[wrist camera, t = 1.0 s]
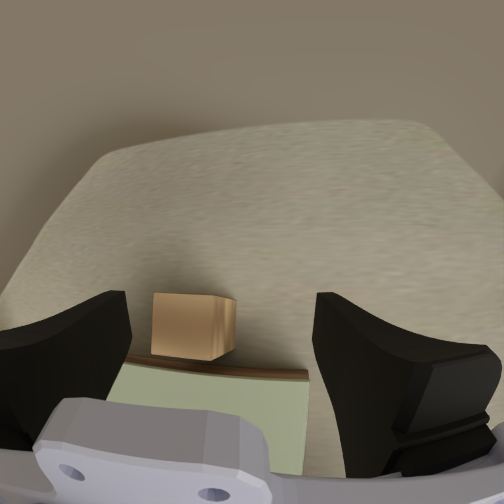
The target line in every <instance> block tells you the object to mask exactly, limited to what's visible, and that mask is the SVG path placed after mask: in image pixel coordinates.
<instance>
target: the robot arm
mask: <svg viewBox="0 0 504 504" xmlns="http://www.w3.org/2000/svg"><path fill="white" fill-rule="evenodd" d="M131 340H132V332H131V326H130V320H129V315H128V309H127V302H126V296H125V291H114V290H110V291H107V292H104V293H101V294H99V295H97V296H95V297H92V298H90V299H88V300H86V301H84V302H82V303H80V304H78V305H76V306H74V307H72V308H70V309H67V310H65V311H63V312H61V313H59V314H56V315H54V316H52V317H49V318H47V319H44V320H41V321H38V322H35V323H32V324H29V325H25V326H21V327H17V328H13V329H8V330H3V331H0V504H504V422H502V423H500V424H498V425H497V426H496V427H494V428H493V429H492V430H490V429H489V427H488V426H487V425H486V423H488V422H489V420H490V417H489V415H488V414H487V413H486V411H485V409H486V407H487V405H488V404H489V402H490V400H491V398H492V396H493V394H494V392H495V390H496V388H497V386H498V383H499V381H500V378H501V372H502V364H501V360H500V359H499V358H498V356H497V355H496V354H495V353H494V352H493V351H492V350H491V349H490V348H489V347H488V346H487V345H479V344H466V343H456V342H450V341H444V340H439V339H435V338H430V337H427V336H423V335H420V334H416V333H413V332H410V331H407V330H405V329H402V328H400V327H397V326H395V325H392V324H390V323H388V322H386V321H384V320H382V319H380V318H378V317H376V316H374V315H372V314H370V313H369V312H367V311H365V310H363V309H362V308H360V307H358V306H357V305H355V304H353V303H352V302H350V301H348V300H347V299H345V298H343V297H342V296H340V295H338V294H336V293H334V292H319V293H317V297H316V307H315V316H314V325H313V334H312V343H313V348H314V353H315V357H316V361H317V364H318V367H319V370H320V373H321V375H322V378H323V381H324V383H325V386H326V389H327V392H328V394H329V397H330V400H331V402H332V406H333V409H334V412H335V417H336V421H337V426H338V431H339V436H340V441H341V447H342V452H343V458H344V465H345V472H346V478H330V477H315V476H303V475H293V474H284V473H276V472H270V461H269V450H268V445H267V442H266V440H265V437H264V435H263V432H262V430H261V429H259V428H258V427H256V426H254V425H253V424H251V423H249V422H248V421H246V420H245V419H243V418H241V417H240V416H236V415H231V414H226V413H220V412H215V411H210V410H193V409H177V408H164V407H153V406H143V405H134V404H126V403H118V402H111V401H106V399H107V397H108V395H109V393H110V391H111V388H112V386H113V384H114V382H115V380H116V378H117V376H118V374H119V372H120V370H121V367H122V365H123V363H124V361H125V359H126V357H127V354H128V350H129V347H130V344H131Z"/></svg>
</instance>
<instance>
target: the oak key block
mask: <svg viewBox="0 0 504 504" xmlns="http://www.w3.org/2000/svg"><path fill="white" fill-rule="evenodd" d="M235 319H236V300H233V299H228V298H223V297H218V296H213V295H191V294H172V293H155V292H154V296H153V315H152V343H151V354H155V355H163V356H171V357H179V358H188V359H197V360H208V361H211V360H213V359H215V358H217V357H219V356H221V355H223V354H225V353H227V352H229V351H231V350H233V349H234V346H235Z"/></svg>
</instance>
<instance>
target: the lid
mask: <svg viewBox="0 0 504 504" xmlns="http://www.w3.org/2000/svg"><path fill="white" fill-rule="evenodd" d="M309 387H310V379H277V378H258V377H243V376H230V375H219V374H209V373H200V372H191V371H183V370H175V369H167V368H160V367H154V366H147V365H141V364H135V363H129V362H124V363H123V365H122V367H121V370H120V372H119V374H118V376H117V378H116V380H115V382H114V384H113V386H112V388H111V391H110V393H109V395H108V397H107V399H106V401H111V402H118V403H126V404H134V405H143V406H153V407H164V408H177V409H193V410H210V411H215V412H220V413H226V414H231V415H236V416H240V417H241V418H243V419H245V420H246V421H248V422H249V423H251V424H253V425H254V426H256V427H258V428H259V429H261V430H262V432H263V435H264V437H265V440H266V442H267V445H268V450H269V461H270V472H276V473H284V474H293V475H302V470H303V460H304V450H305V439H306V428H307V415H308V402H309Z"/></svg>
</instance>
